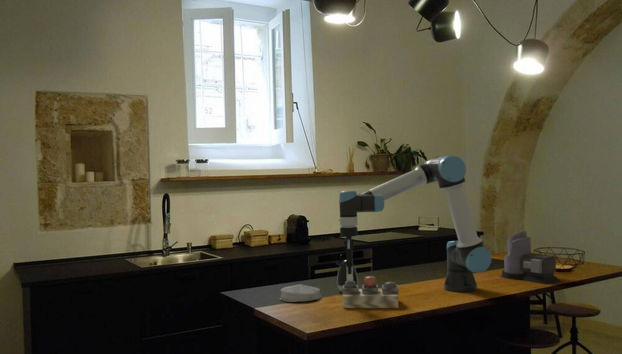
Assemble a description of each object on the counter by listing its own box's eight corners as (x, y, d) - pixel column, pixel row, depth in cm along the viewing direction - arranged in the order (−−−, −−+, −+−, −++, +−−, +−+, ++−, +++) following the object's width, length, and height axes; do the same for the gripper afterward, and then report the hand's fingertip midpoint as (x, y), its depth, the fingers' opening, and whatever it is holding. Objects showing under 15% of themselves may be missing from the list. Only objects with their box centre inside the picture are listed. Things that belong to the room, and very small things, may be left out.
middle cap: (375, 285, 237) (375, 276, 237) (375, 287, 233) (375, 278, 233) (365, 285, 237) (364, 276, 237) (364, 287, 233) (364, 278, 233)
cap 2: (395, 291, 236) (394, 281, 236) (395, 293, 232) (395, 283, 232) (384, 291, 236) (384, 281, 236) (385, 293, 232) (384, 283, 232)
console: (397, 300, 241) (397, 283, 241) (399, 307, 227) (398, 289, 227) (343, 300, 243) (343, 283, 243) (342, 307, 229) (341, 290, 229)
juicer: (493, 276, 290) (492, 230, 290) (513, 272, 298) (511, 228, 298) (543, 285, 264) (542, 234, 264) (563, 281, 273) (562, 232, 273)
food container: (280, 294, 261) (280, 280, 261) (322, 293, 260) (321, 278, 260) (276, 305, 241) (276, 289, 241) (322, 303, 240) (321, 287, 240)
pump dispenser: (335, 289, 266) (334, 258, 266) (356, 288, 267) (355, 257, 267) (338, 294, 256) (337, 261, 256) (360, 293, 257) (359, 260, 257)
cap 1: (355, 289, 238) (355, 280, 238) (355, 292, 233) (355, 282, 233) (345, 290, 238) (345, 280, 238) (345, 292, 234) (344, 282, 234)
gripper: (340, 225, 243) (342, 278, 243) (339, 228, 230) (340, 284, 230) (357, 225, 242) (359, 278, 242) (357, 227, 229) (358, 284, 229)
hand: (349, 281), depth 236 cm, fingers closed
